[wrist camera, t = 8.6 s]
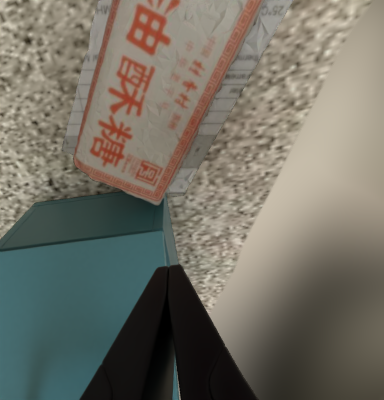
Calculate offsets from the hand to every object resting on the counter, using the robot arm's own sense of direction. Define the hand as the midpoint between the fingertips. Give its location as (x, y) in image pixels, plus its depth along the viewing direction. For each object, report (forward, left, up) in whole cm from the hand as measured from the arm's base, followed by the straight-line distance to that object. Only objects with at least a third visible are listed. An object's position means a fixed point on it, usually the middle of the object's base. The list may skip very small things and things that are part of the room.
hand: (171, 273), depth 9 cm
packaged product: (+6, -1, -13) cm, 15 cm away
